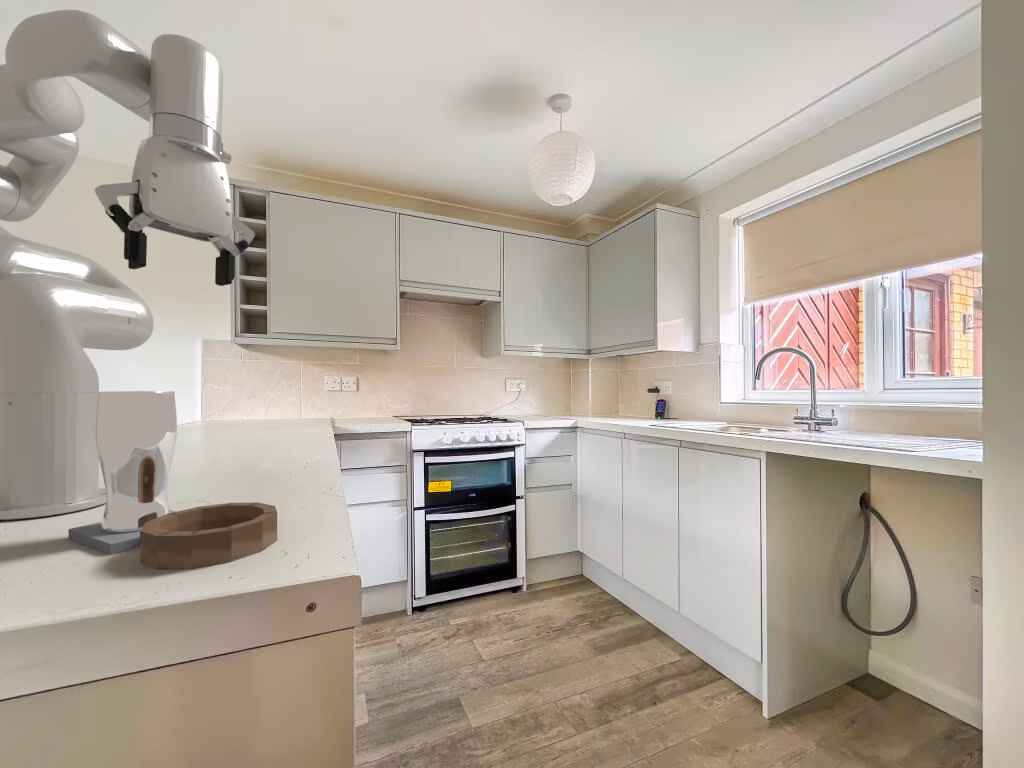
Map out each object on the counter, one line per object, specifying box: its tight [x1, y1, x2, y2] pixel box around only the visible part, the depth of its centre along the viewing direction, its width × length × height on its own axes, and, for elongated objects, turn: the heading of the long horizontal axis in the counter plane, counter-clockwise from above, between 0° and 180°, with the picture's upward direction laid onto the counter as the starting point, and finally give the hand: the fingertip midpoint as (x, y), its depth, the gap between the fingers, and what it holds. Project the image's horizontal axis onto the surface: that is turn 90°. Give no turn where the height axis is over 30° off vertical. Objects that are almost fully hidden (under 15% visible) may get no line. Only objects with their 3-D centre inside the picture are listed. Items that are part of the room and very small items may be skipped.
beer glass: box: [96, 390, 178, 533], centre depth 50 cm, size 7×7×15 cm
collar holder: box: [139, 502, 278, 570], centre depth 46 cm, size 11×11×3 cm
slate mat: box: [67, 509, 176, 555], centre depth 50 cm, size 10×9×1 cm
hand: (183, 276), depth 57 cm, fingers open, 9 cm apart
